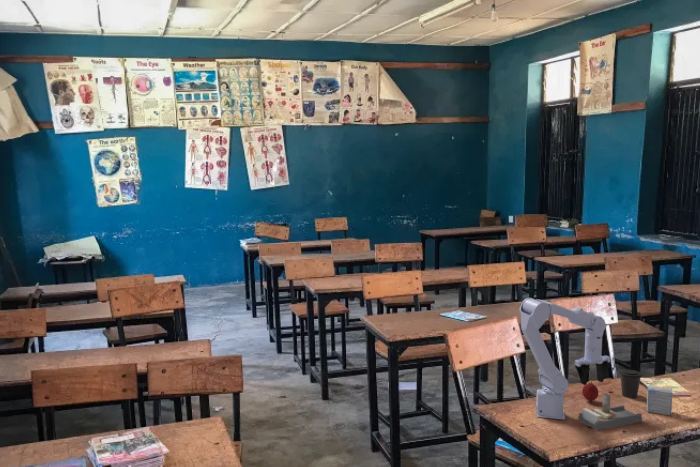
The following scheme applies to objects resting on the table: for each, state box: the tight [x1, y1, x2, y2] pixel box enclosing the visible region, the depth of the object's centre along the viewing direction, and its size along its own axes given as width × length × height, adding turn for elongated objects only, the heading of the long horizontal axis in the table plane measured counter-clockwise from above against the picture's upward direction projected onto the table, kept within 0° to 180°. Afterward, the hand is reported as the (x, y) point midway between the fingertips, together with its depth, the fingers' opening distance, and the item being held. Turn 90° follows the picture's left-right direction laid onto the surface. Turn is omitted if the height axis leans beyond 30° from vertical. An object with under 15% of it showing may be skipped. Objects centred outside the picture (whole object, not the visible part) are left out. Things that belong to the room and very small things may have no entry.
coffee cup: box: [619, 368, 643, 399], centre depth 224 cm, size 8×8×10 cm
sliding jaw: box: [593, 393, 618, 420], centre depth 200 cm, size 5×6×8 cm
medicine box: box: [646, 385, 674, 416], centre depth 208 cm, size 8×4×9 cm, turn 65°
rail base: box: [578, 404, 643, 431], centre depth 201 cm, size 20×9×4 cm, turn 110°
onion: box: [581, 380, 599, 402], centre depth 218 cm, size 6×6×8 cm
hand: (591, 382), depth 210 cm, fingers open, 7 cm apart
